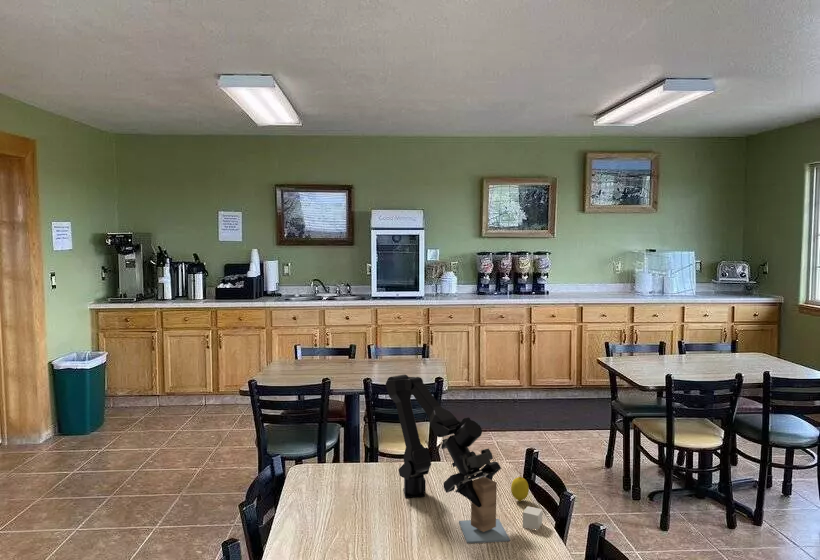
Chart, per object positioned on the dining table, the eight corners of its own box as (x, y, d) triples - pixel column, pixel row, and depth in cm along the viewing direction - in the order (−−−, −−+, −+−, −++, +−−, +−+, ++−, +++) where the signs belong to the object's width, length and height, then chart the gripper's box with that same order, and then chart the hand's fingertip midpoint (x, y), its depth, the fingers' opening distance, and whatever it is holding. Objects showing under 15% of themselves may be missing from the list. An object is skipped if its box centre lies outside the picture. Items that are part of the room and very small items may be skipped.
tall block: (470, 525, 164) (471, 480, 164) (483, 520, 168) (484, 476, 167) (483, 532, 161) (483, 486, 160) (495, 526, 164) (496, 482, 163)
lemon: (528, 505, 180) (528, 480, 180) (510, 504, 181) (510, 479, 181) (528, 498, 186) (528, 474, 185) (511, 496, 187) (511, 472, 186)
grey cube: (522, 527, 167) (522, 512, 166) (527, 520, 171) (527, 506, 170) (537, 531, 165) (538, 515, 164) (542, 524, 168) (542, 509, 168)
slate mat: (467, 543, 157) (467, 541, 157) (458, 522, 169) (458, 520, 169) (509, 541, 159) (509, 539, 159) (498, 520, 171) (498, 518, 171)
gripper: (450, 447, 160) (478, 500, 152) (497, 434, 171) (525, 482, 163) (432, 466, 167) (457, 518, 159) (478, 452, 178) (504, 500, 170)
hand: (487, 504), depth 162 cm, fingers open, 5 cm apart
